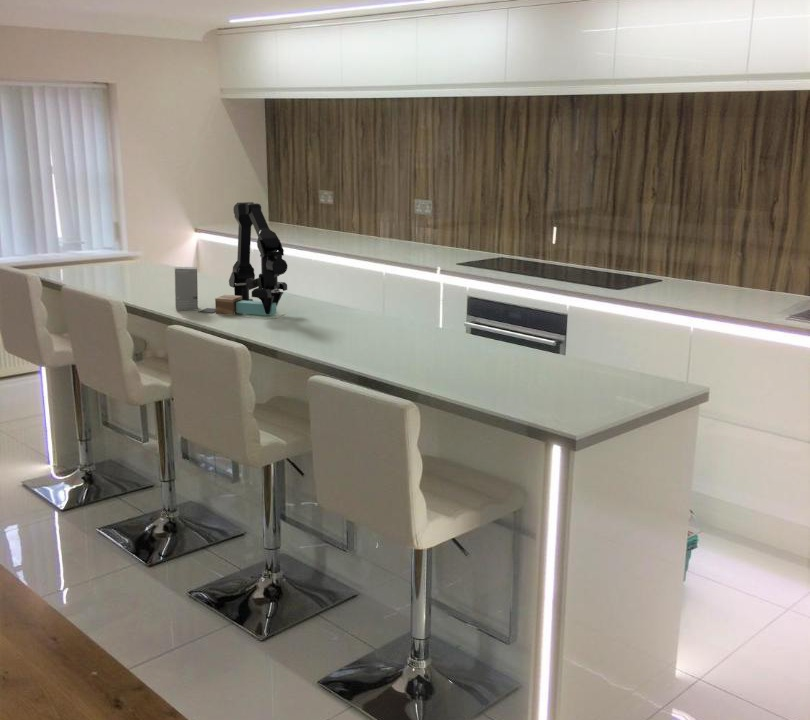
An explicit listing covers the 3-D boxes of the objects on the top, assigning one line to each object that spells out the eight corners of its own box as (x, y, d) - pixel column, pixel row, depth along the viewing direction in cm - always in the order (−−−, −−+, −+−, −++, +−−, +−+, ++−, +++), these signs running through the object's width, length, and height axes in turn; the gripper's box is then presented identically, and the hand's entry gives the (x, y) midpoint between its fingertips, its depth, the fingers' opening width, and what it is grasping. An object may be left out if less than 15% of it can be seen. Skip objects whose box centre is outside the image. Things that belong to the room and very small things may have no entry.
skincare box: (176, 311, 334) (173, 268, 330) (175, 307, 341) (173, 266, 337) (199, 310, 336) (197, 268, 332) (198, 306, 343) (196, 265, 339)
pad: (252, 311, 335) (252, 311, 335) (284, 314, 331) (284, 313, 331) (243, 316, 327) (243, 315, 327) (276, 318, 324) (276, 318, 324)
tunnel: (225, 309, 338) (225, 294, 336) (242, 311, 336) (242, 295, 334) (215, 313, 330) (215, 298, 329) (233, 315, 328) (232, 299, 327)
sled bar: (241, 310, 334) (241, 300, 333) (276, 313, 330) (276, 302, 329) (236, 313, 330) (236, 302, 329) (271, 315, 326) (271, 304, 325)
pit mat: (207, 308, 339) (207, 307, 339) (221, 309, 338) (221, 309, 338) (198, 312, 333) (198, 311, 333) (212, 313, 331) (212, 312, 331)
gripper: (259, 265, 335) (261, 306, 339) (237, 273, 318) (238, 316, 322) (287, 267, 332) (288, 308, 336) (266, 275, 315) (267, 318, 319)
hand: (270, 312), depth 328 cm, fingers closed on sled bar, 4 cm apart
